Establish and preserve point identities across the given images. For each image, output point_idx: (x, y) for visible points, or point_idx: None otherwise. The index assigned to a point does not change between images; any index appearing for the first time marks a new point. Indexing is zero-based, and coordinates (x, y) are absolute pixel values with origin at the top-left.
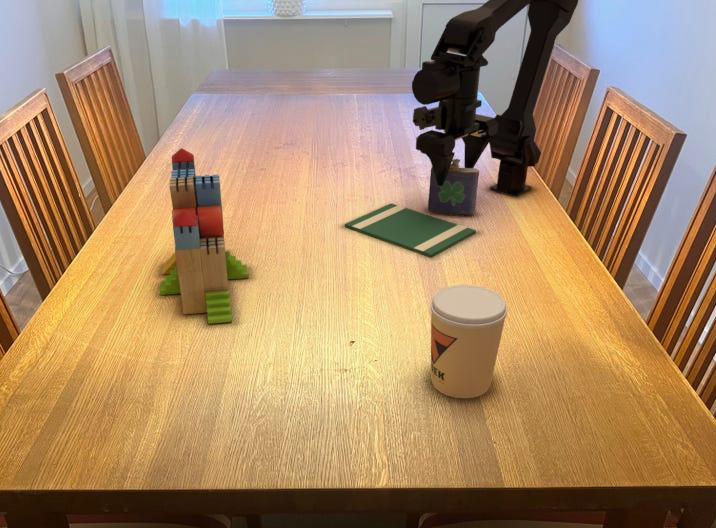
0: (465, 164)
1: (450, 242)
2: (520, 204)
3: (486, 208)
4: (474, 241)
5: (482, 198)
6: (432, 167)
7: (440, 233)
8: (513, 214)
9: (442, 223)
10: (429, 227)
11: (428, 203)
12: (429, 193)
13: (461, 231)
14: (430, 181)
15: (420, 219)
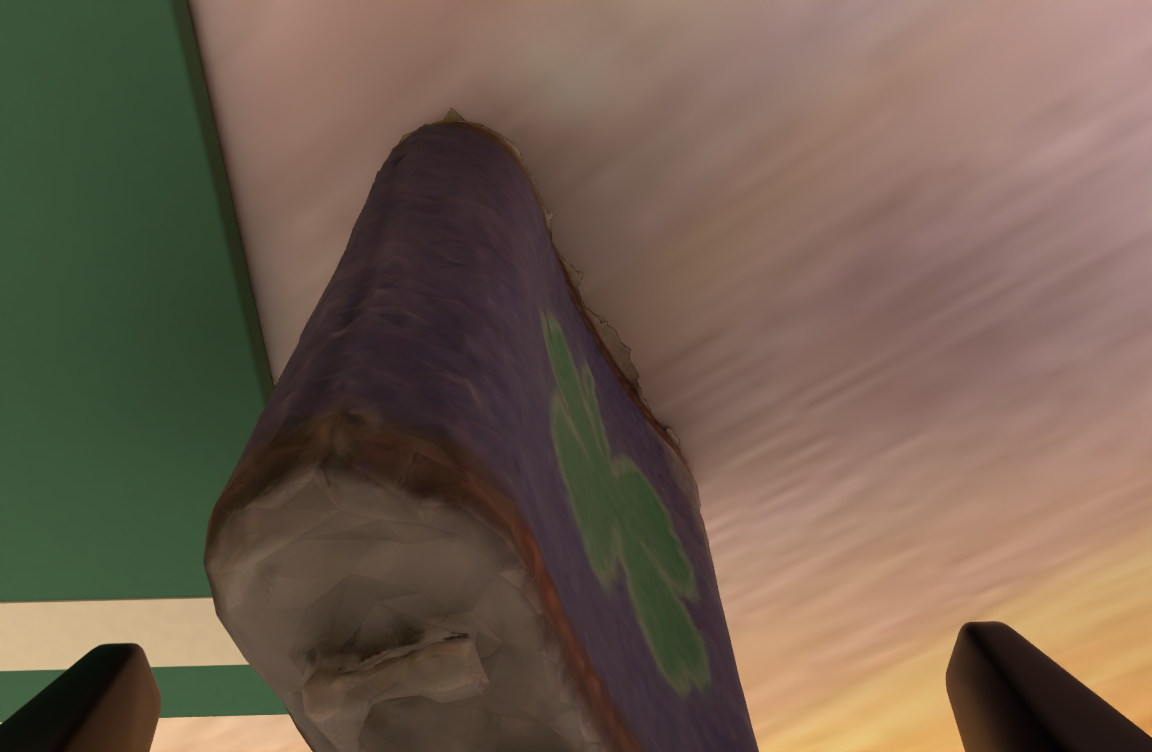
0: (1033, 747)
1: None
2: (1122, 633)
3: (880, 508)
4: (222, 743)
5: (1134, 355)
6: (228, 529)
7: (24, 594)
8: (873, 688)
9: (200, 495)
10: (15, 470)
11: (382, 168)
12: (358, 223)
13: (219, 667)
14: (313, 315)
15: (63, 292)
